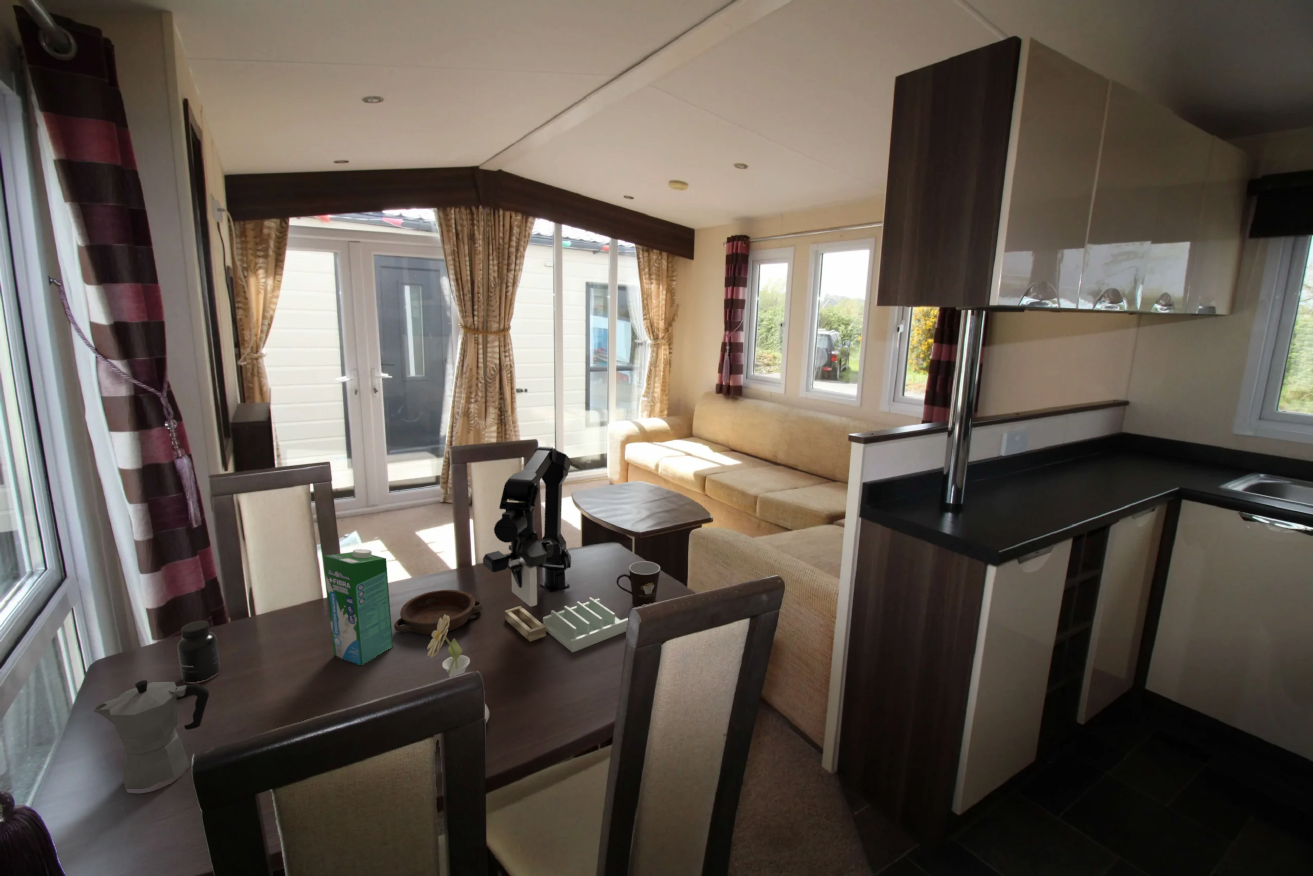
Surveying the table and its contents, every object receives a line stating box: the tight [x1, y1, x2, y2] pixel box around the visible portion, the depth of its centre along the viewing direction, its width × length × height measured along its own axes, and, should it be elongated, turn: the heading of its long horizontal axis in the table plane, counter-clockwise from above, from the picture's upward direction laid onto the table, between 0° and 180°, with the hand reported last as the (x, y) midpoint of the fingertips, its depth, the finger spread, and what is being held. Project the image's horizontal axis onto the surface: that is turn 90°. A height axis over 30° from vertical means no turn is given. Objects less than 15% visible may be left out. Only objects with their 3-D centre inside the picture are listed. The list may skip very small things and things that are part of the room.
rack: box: [542, 597, 628, 653], centre depth 154 cm, size 14×17×5 cm
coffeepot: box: [92, 679, 210, 790], centre depth 104 cm, size 15×9×18 cm, turn 114°
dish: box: [393, 589, 483, 635], centre depth 156 cm, size 18×22×5 cm
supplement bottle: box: [176, 620, 221, 682], centre depth 131 cm, size 7×7×12 cm
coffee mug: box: [615, 560, 661, 607], centre depth 169 cm, size 12×9×10 cm
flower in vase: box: [426, 615, 490, 723], centre depth 115 cm, size 13×11×25 cm
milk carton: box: [323, 548, 394, 666], centre depth 140 cm, size 9×9×25 cm
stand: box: [504, 605, 547, 642], centre depth 155 cm, size 13×4×2 cm, turn 40°
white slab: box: [510, 558, 538, 608], centre depth 152 cm, size 10×2×10 cm, turn 40°
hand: (523, 586), depth 152 cm, fingers closed on white slab, 2 cm apart
